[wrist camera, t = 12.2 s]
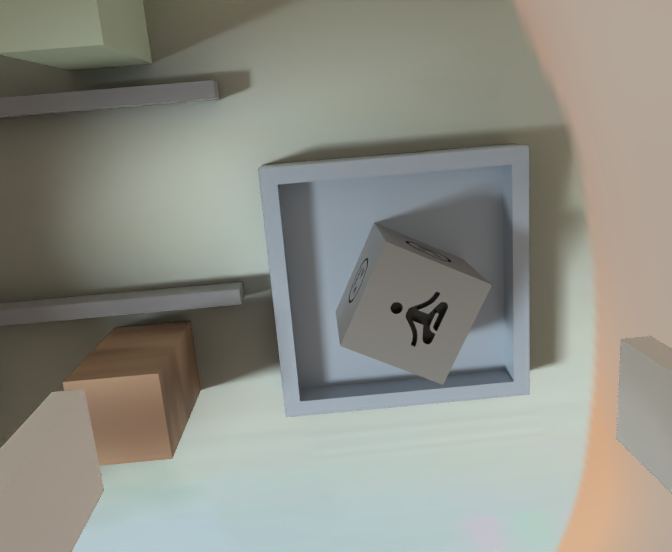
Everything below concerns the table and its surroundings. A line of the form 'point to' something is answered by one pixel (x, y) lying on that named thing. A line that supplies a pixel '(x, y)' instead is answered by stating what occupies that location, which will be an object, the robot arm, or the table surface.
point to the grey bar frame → (125, 300)
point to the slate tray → (412, 221)
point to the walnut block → (139, 391)
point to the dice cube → (409, 304)
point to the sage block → (75, 32)
